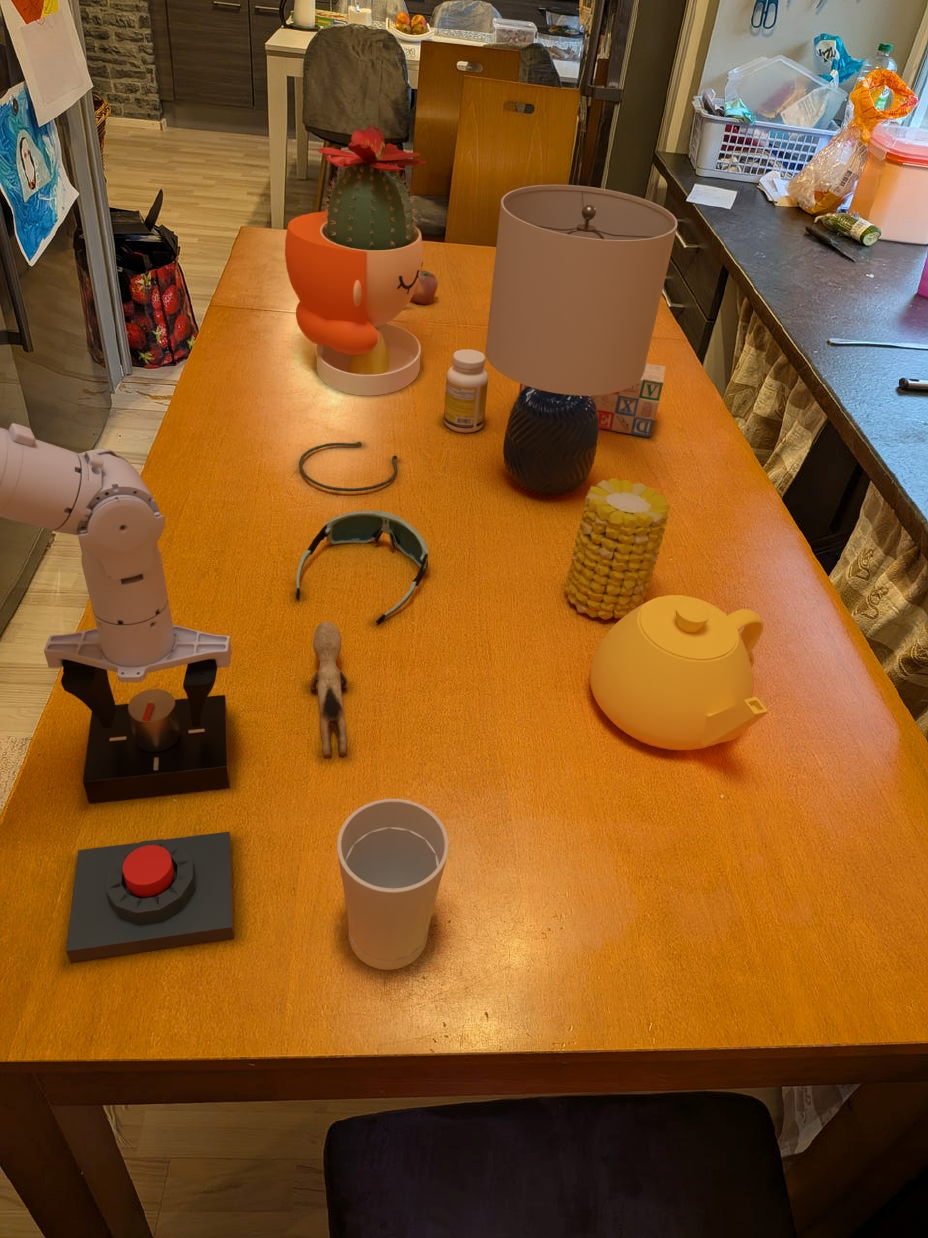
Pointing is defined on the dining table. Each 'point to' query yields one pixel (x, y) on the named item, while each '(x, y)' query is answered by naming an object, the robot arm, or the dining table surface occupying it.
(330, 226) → the potted cactus
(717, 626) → the teapot
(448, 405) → the pill bottle
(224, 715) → the dimmer panel
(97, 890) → the switch block
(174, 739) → the dimmer knob
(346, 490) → the black headband
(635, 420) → the stack of blocks
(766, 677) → the dining table surface
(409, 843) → the cup
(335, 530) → the sunglasses
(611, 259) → the lamp
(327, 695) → the figurine
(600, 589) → the food
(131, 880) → the switch button
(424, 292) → the apple
